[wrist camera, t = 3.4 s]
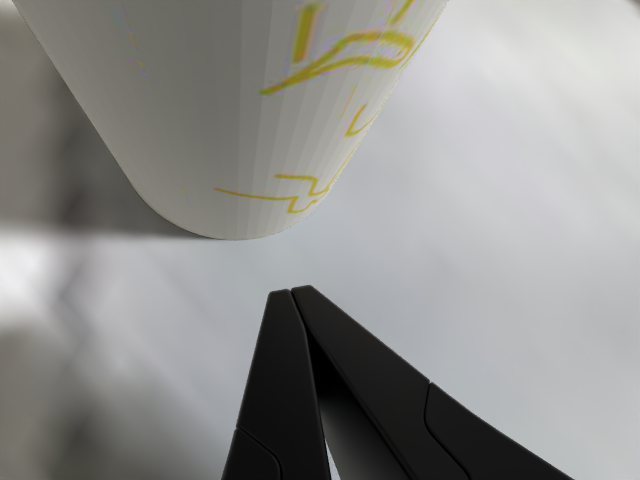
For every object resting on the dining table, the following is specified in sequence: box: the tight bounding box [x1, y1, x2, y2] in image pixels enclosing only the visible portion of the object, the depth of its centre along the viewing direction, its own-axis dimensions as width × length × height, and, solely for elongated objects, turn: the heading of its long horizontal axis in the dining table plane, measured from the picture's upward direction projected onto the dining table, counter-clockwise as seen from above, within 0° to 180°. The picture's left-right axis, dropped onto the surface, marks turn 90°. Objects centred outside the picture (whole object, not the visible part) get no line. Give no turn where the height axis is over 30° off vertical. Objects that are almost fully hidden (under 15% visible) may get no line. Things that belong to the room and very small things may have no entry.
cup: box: [12, 0, 449, 240], centre depth 11 cm, size 8×8×12 cm
